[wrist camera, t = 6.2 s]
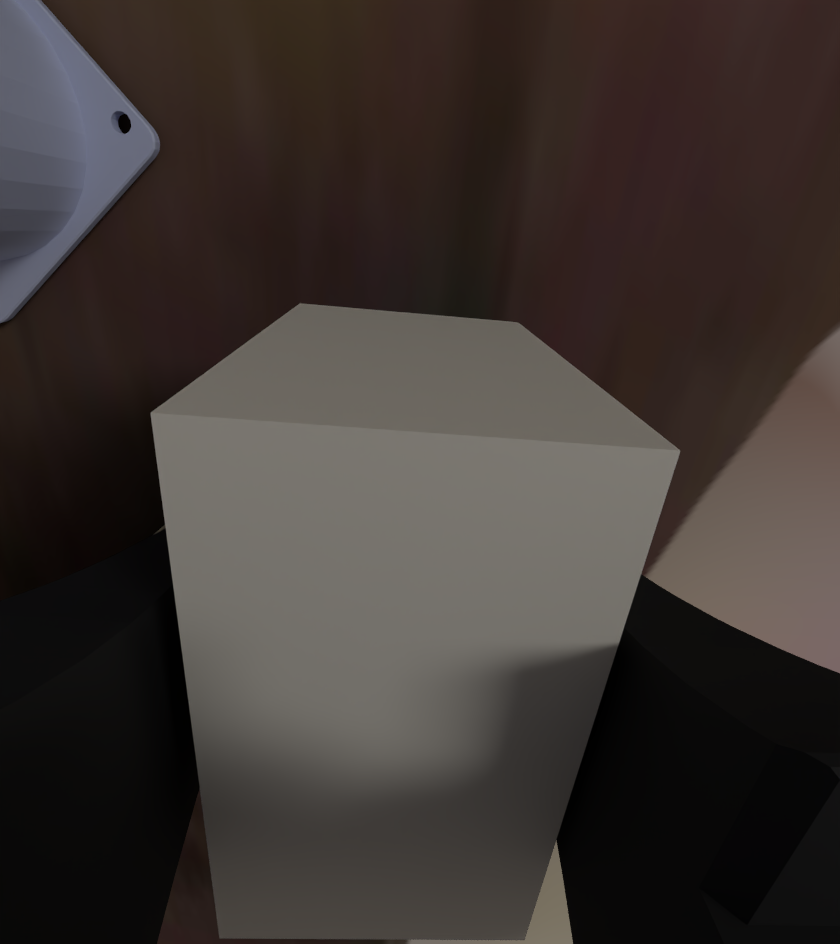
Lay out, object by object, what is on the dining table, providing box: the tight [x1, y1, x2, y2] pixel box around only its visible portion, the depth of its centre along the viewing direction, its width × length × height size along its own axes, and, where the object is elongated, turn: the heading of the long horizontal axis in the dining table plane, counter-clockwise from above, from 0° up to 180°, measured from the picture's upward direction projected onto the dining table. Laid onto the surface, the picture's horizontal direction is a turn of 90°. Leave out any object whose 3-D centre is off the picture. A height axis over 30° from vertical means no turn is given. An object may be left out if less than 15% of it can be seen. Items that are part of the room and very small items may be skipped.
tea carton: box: [151, 304, 680, 940], centre depth 9 cm, size 5×8×7 cm, turn 175°
